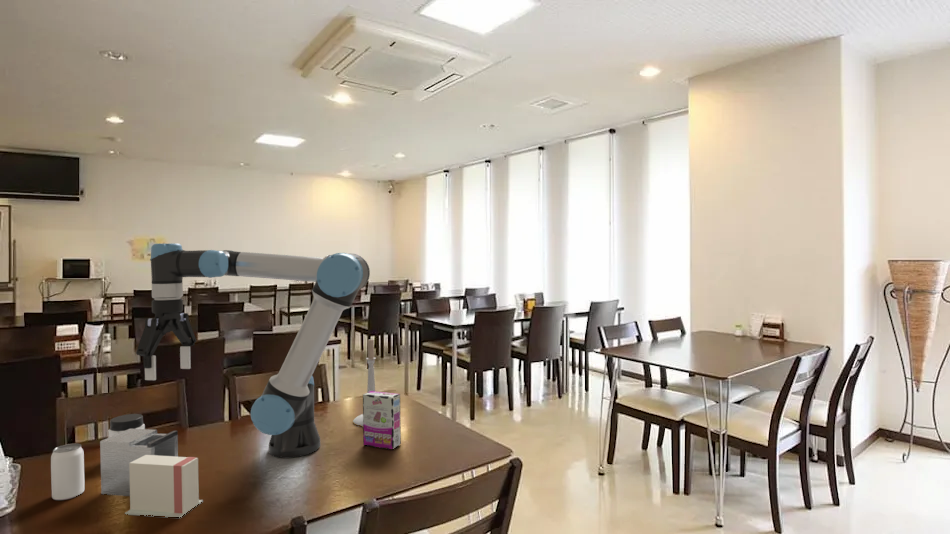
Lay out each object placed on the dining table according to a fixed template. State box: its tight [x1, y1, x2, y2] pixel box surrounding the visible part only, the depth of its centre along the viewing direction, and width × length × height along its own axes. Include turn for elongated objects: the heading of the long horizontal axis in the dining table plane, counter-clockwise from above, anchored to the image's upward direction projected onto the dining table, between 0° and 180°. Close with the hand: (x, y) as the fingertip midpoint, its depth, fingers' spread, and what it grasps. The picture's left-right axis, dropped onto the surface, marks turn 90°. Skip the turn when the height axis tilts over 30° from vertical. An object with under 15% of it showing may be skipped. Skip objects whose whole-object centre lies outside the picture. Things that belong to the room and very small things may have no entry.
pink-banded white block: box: [129, 455, 200, 513], centre depth 122 cm, size 14×5×11 cm, turn 82°
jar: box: [107, 413, 146, 438], centre depth 152 cm, size 9×8×12 cm
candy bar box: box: [362, 390, 402, 450], centre depth 162 cm, size 11×5×16 cm, turn 68°
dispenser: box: [99, 428, 179, 497], centre depth 133 cm, size 14×9×14 cm
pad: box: [124, 499, 204, 519], centre depth 123 cm, size 14×8×1 cm, turn 82°
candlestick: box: [352, 338, 377, 426], centre depth 185 cm, size 13×13×30 cm
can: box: [50, 443, 85, 501], centre depth 129 cm, size 6×6×12 cm
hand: (168, 374), depth 145 cm, fingers open, 13 cm apart
